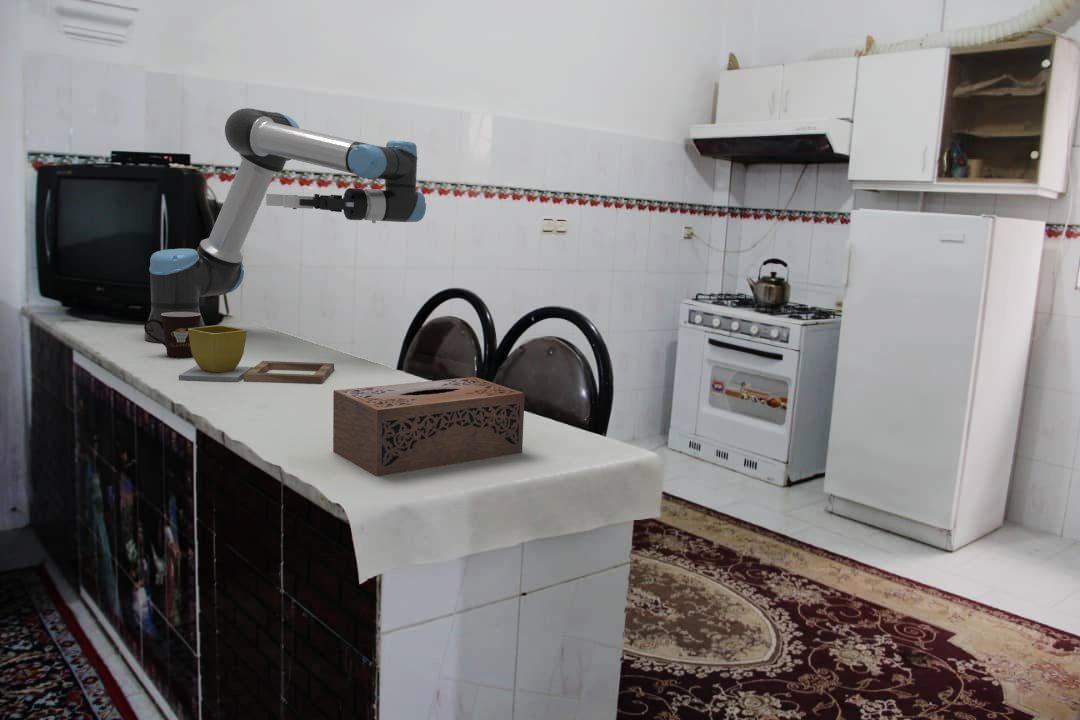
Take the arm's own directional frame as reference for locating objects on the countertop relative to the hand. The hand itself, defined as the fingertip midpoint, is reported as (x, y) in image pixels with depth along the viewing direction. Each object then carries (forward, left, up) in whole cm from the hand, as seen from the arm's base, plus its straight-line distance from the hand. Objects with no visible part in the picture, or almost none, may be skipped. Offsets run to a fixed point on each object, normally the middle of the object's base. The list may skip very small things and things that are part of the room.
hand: (274, 200), depth 203 cm
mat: (+19, -8, -37) cm, 43 cm away
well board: (+16, +7, -37) cm, 41 cm away
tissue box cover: (+73, +41, -38) cm, 92 cm away
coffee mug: (-3, -24, -38) cm, 45 cm away
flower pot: (+18, -8, -37) cm, 42 cm away
